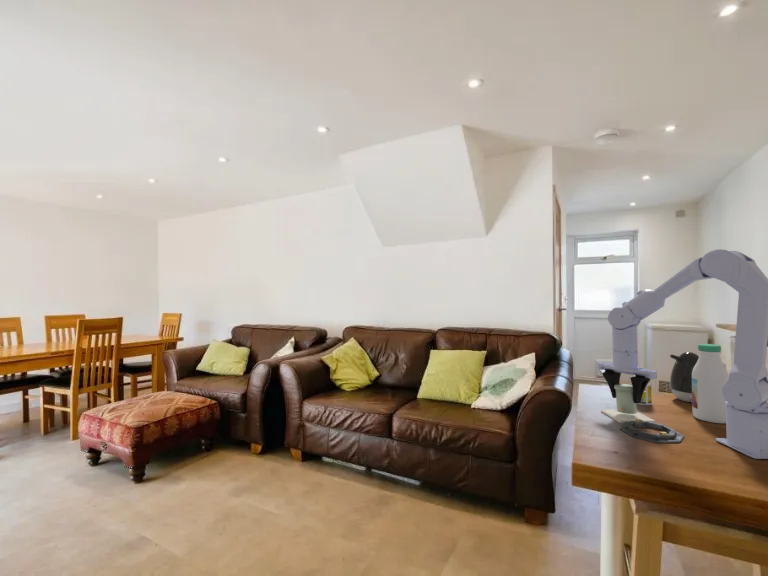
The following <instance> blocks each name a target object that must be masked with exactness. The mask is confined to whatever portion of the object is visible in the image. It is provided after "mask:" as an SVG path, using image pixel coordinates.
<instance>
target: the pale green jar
mask: <svg viewBox="0 0 768 576" xmlns="http://www.w3.org/2000/svg"><path fill="white" fill-rule="evenodd" d="M614 389H616V398H615V400H616V401H615V402H616V410H617V411H618V412H621V413H626V414H636V413H637V412H638V411H637V410H638V409H637V407H638V406H637V404H636V403H634V400H633V387H632V384H628V383H619V384H615V385H614Z"/></svg>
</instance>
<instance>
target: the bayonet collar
mask: <svg viewBox="0 0 768 576" xmlns="http://www.w3.org/2000/svg"><path fill="white" fill-rule="evenodd" d="M637 428H648V429H649V428H650V429H654V430H658V433H653V432H649V431H643V430H640V429H637ZM619 430H620V431H622V432H624V433H625V434H627V435H628V436H630V437H632V438H635V439H640V440H644V441H647V442H652V443H657V444H674V443H675V444H676V443H678V444H680V443H682V441H683V438H684V436H685V435H684V434H683V433H681V432H679V431H678V430H676V429H674V428H672V427H669V426H668V425H666V424H662V423H658V422H655V423H654V422H649V421H643V420H641V419H636V421H630V422H625V423H622V425H621V426H620V427H619Z"/></svg>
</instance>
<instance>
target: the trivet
mask: <svg viewBox="0 0 768 576" xmlns="http://www.w3.org/2000/svg"><path fill="white" fill-rule="evenodd" d="M600 412H601V413H602V414H603V415H606V416H607V417H609V418H610V419H612V420H614V421H616V422H618V423H619V424H624V423H625V422H630V421H636V419H641V420H643V421H649V422H654V423H656V420H655V419H652V418H650V417H648V416H647V415H645V414H643V413H641V412H639V411H637V413H636V414H626V413H621V412H618V411H617V409H601V410H600Z"/></svg>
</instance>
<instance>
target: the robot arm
mask: <svg viewBox="0 0 768 576" xmlns="http://www.w3.org/2000/svg"><path fill="white" fill-rule="evenodd" d="M710 279H716V280H719V281H721V282H724V283H725V284H726V285H728V286H730V287H731V288H732V289H733V290H735V291H736V292H738V299H737V300H738V301H737V302H738V303H737V313H736V314H737V315H736V325H735V327H736V328H735V337H734V339H735V340H734V351H733V363H732V365H731V367H730V370H729V372H728V375H729V379H728V381H727V382H726V384H725V385H724V386H723V388H722V394H723V397H724V399H725V400H726V423H725V424H726V425H725V428H726V429H725V431H726V438H725V437H721V438H718V437H716V438H715V441H716V442H718V443H720V444H723V445H724V446H727V447H729V448H731V449H733V450H736V451H738V452H740V453H741V454H744V455H745V456H748V457H750V458H752V459H755V460H756V459H757V460H761V459H765V460H767V459H768V368H767V366H766V365H767V364H766V363H767V351H768V350H767V349H768V277H767V275H765V274H764V272H763V271H762V269H760V267H759V266H758V264H757V263H756V261H755V260H754V259H753V258H752V257H750V256H748V255H746V254H744V253H743V252H742V251H741V252H740V251H738V250H727V249H714V250H711V251H707V253H706V254H704V255H703V256H702V257H698V258H696V259H694V260H693V261H692V262H689V264H688V265H686V266H685V267H684V268H682V269H680V271H678V272H677V273H676V274H673V276H671V277H670V278H669V279H667V280H666V281H665V282H663V283H662V284H660V285H659V286H658V287H656V288H655V289H648V288H647V289H645V290H638V291H637V292H636V296H635V297H632V298H631V299H630V300H628V301H624V302H622V304H621V305H622V306H621V307H614V308H612V309H611V310H610V312H609V313H608V315H607V320H608V323H609V324H610V326H611V327H612V328H611V329H612V362H604V361H600V362H597V370H600V371H603V370H604V372H602V377H603V378H604V380H605V381H606V382H607V383H606V384H607V385H608V388H609V390H610V393H611V397H612V398H613V399H616V389H614V385H615V384H620V380H621V374H626V375H631V376H632V377H629V379H630V382H631V385H632V387H633V400H634V403H640V402H641V399H642V395H643V392H644V390H645V387H646V386H647V384H648V382H649V383H650V381H651V380H656V379H658V373H657V372H658V371H656V370H653V369H652V370H651V369H648V368H645V367H639V362H638V361H639V355H638V354H639V353H638V330H637V327H638V326H639V325H640V324H641V321H643V320H645V319H646V318H648V317H649V316H651V315H652V314H655V312H657V311H659V310H660V309H662V308H664V306H665V302H666V300H667V299H668V298H669V297H672V296H673V295H675V294H676V293H678V292H680V291H682V290H684V289H685V288H686V287H688V286H690V285H692V284H693V283H695V282H697V281H702V280H704V281H705V280H710ZM634 375H635V377H633V376H634Z"/></svg>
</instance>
